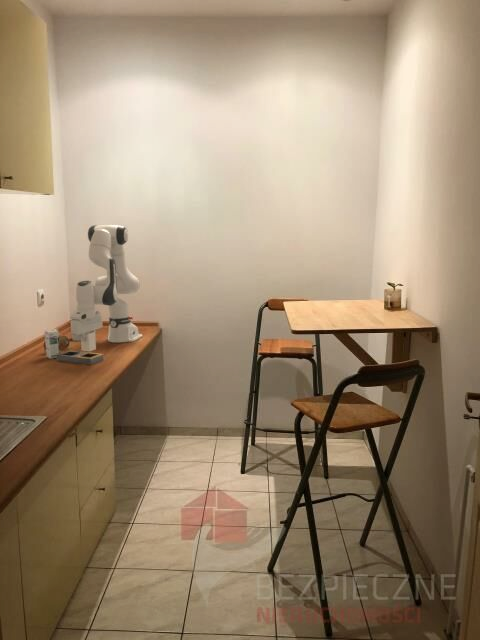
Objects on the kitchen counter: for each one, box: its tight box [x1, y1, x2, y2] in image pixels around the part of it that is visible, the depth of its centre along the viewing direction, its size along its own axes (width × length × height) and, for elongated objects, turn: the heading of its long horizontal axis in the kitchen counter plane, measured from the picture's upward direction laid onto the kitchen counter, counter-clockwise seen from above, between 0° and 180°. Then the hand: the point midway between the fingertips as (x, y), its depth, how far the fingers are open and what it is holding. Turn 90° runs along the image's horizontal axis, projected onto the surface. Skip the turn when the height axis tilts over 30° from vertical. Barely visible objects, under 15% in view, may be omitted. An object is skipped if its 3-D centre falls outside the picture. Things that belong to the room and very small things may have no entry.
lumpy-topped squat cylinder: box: [71, 331, 91, 342], centre depth 325 cm, size 10×13×9 cm
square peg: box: [80, 332, 97, 352], centre depth 272 cm, size 5×5×9 cm
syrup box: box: [43, 329, 62, 359], centre depth 282 cm, size 6×6×14 cm
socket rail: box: [56, 350, 105, 366], centre depth 276 cm, size 10×22×3 cm, turn 66°
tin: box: [43, 335, 70, 352], centre depth 295 cm, size 15×3×8 cm, turn 143°
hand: (88, 340), depth 272 cm, fingers closed on square peg, 5 cm apart
